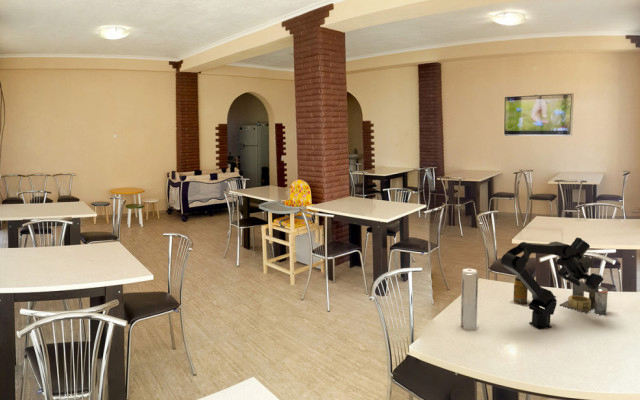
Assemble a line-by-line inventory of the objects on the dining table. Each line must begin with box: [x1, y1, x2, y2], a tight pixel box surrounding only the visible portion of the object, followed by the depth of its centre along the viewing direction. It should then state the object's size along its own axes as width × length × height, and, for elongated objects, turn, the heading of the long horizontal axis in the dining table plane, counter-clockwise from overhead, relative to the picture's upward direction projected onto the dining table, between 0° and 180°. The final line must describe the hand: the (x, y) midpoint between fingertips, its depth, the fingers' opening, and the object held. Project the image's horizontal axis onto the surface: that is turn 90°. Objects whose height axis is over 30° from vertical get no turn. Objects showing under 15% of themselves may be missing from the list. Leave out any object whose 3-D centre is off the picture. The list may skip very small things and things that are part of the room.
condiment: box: [509, 276, 531, 307], centre depth 222 cm, size 7×8×12 cm
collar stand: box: [559, 280, 603, 314], centre depth 217 cm, size 15×12×10 cm
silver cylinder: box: [460, 267, 479, 331], centre depth 196 cm, size 6×6×25 cm
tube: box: [593, 286, 609, 316], centre depth 207 cm, size 5×5×12 cm
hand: (588, 288), depth 203 cm, fingers open, 9 cm apart
